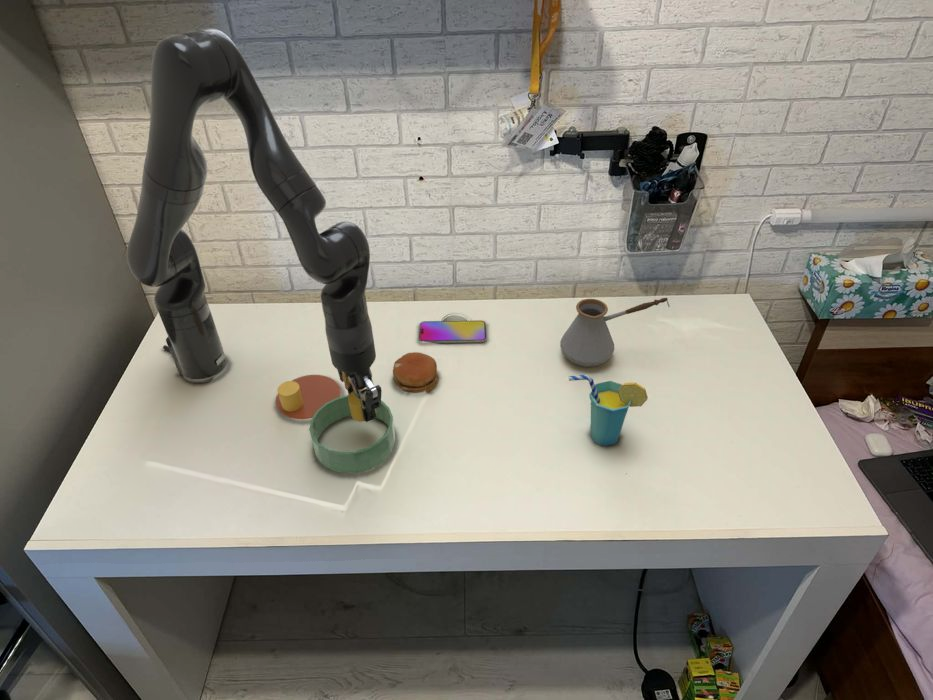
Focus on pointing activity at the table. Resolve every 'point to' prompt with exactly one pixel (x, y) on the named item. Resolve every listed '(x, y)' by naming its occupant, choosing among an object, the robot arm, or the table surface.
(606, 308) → the coffee pot
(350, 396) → the yellow short cylinder
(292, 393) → the yellow cylinder
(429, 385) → the burger
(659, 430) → the table surface
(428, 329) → the smartphone
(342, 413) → the green bowl
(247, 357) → the table surface
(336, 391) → the plate
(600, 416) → the cup
